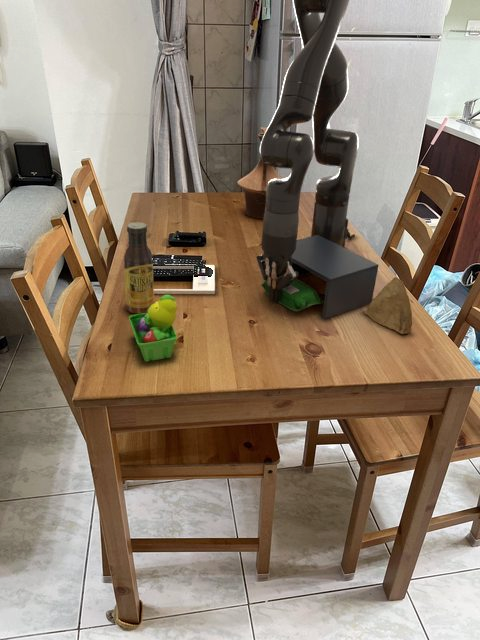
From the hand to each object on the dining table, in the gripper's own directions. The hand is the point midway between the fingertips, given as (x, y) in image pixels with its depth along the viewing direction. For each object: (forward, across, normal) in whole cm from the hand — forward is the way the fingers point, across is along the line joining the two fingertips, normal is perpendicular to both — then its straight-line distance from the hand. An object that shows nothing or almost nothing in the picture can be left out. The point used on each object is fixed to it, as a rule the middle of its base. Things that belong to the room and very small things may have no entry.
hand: (274, 300), depth 118 cm
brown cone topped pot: (+1, +54, -35) cm, 64 cm away
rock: (+2, -19, -18) cm, 26 cm away
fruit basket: (+2, -1, +30) cm, 31 cm away
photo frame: (+2, +23, +13) cm, 26 cm away
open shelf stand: (+1, 0, -14) cm, 14 cm away
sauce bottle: (+2, +15, +26) cm, 30 cm away
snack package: (+2, 0, -5) cm, 5 cm away
